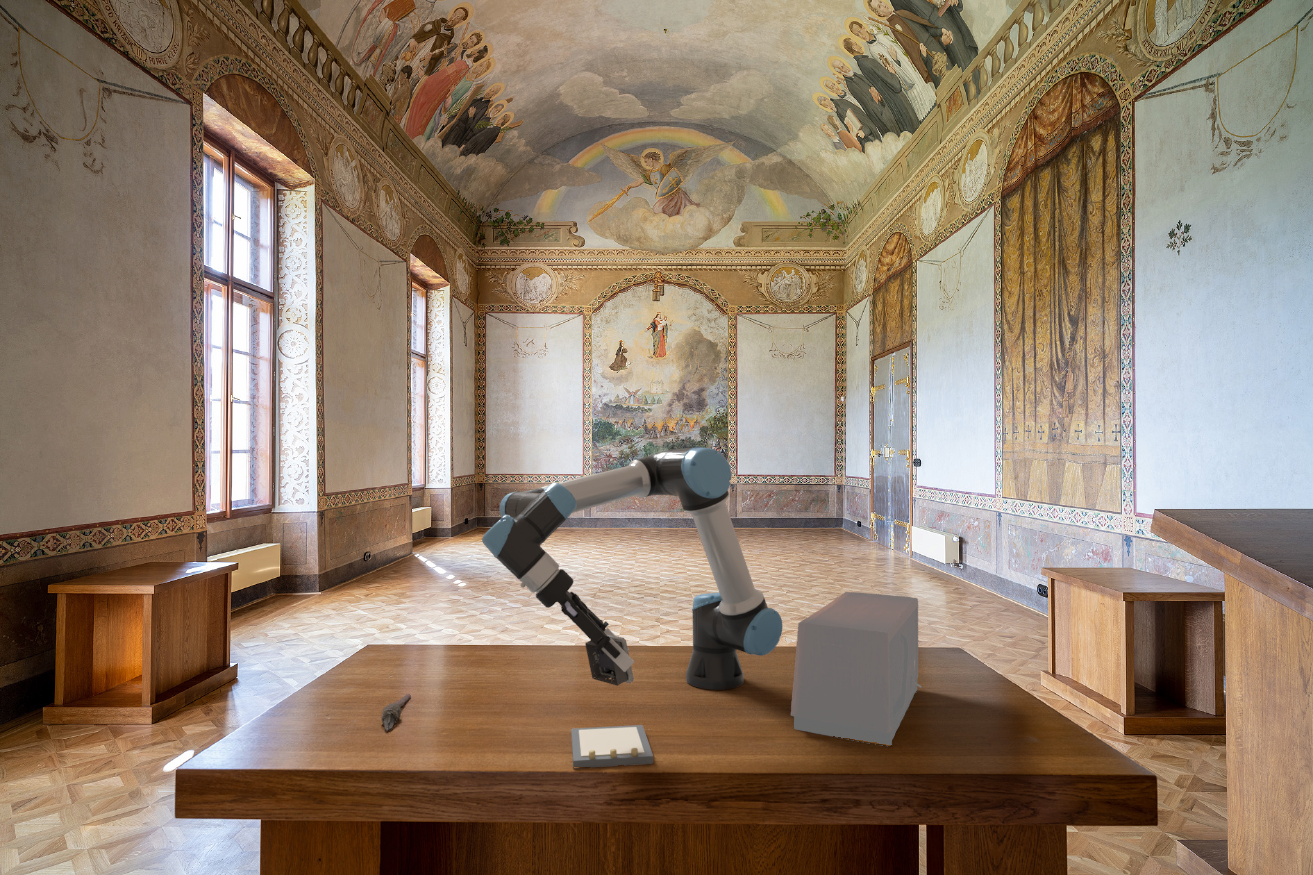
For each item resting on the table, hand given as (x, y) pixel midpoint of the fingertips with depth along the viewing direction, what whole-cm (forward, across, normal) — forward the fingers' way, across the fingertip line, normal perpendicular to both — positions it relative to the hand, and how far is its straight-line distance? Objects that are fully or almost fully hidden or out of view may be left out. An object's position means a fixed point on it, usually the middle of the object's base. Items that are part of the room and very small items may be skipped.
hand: (626, 660), depth 134 cm
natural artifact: (-22, -26, -48) cm, 59 cm away
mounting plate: (+10, 0, -14) cm, 17 cm away
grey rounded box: (+53, -14, +28) cm, 61 cm away
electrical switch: (+1, 0, -6) cm, 6 cm away
